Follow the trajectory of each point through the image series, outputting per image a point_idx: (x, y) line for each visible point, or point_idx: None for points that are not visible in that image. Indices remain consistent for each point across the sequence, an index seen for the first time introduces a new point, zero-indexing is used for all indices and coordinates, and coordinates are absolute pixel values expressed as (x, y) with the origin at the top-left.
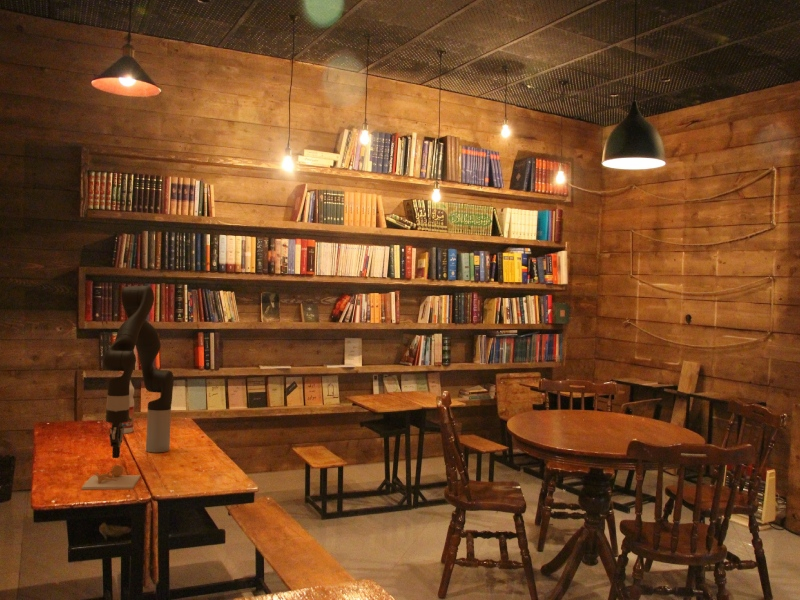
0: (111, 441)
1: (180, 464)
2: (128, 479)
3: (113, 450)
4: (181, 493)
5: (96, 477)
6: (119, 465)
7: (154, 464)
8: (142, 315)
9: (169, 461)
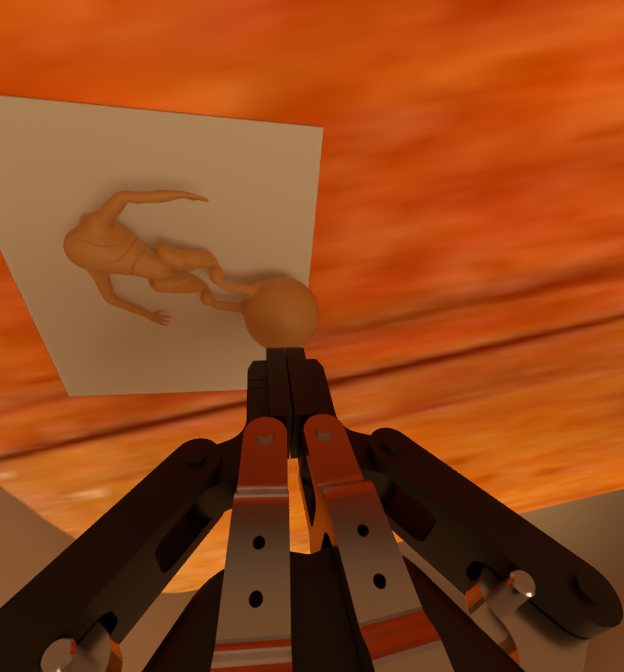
0: (92, 539)
1: (474, 455)
2: (214, 357)
3: (248, 405)
4: (58, 517)
5: (263, 172)
6: (283, 345)
7: (517, 389)
8: None
9: (538, 423)
